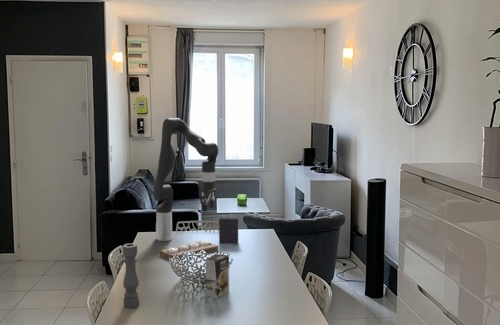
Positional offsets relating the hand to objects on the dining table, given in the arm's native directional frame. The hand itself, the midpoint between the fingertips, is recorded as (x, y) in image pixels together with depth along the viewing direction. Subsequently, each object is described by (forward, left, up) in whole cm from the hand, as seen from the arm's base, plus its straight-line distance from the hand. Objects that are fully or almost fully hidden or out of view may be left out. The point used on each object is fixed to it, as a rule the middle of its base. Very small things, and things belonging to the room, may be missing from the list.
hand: (208, 209), depth 265 cm
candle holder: (+35, -66, -25) cm, 79 cm away
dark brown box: (-9, +22, -25) cm, 34 cm away
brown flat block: (-8, -7, -25) cm, 27 cm away
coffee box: (+48, -32, -25) cm, 63 cm away
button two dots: (-8, -18, -23) cm, 30 cm away
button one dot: (-8, +3, -23) cm, 24 cm away
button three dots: (-8, -4, -23) cm, 24 cm away
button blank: (-8, -11, -23) cm, 26 cm away
